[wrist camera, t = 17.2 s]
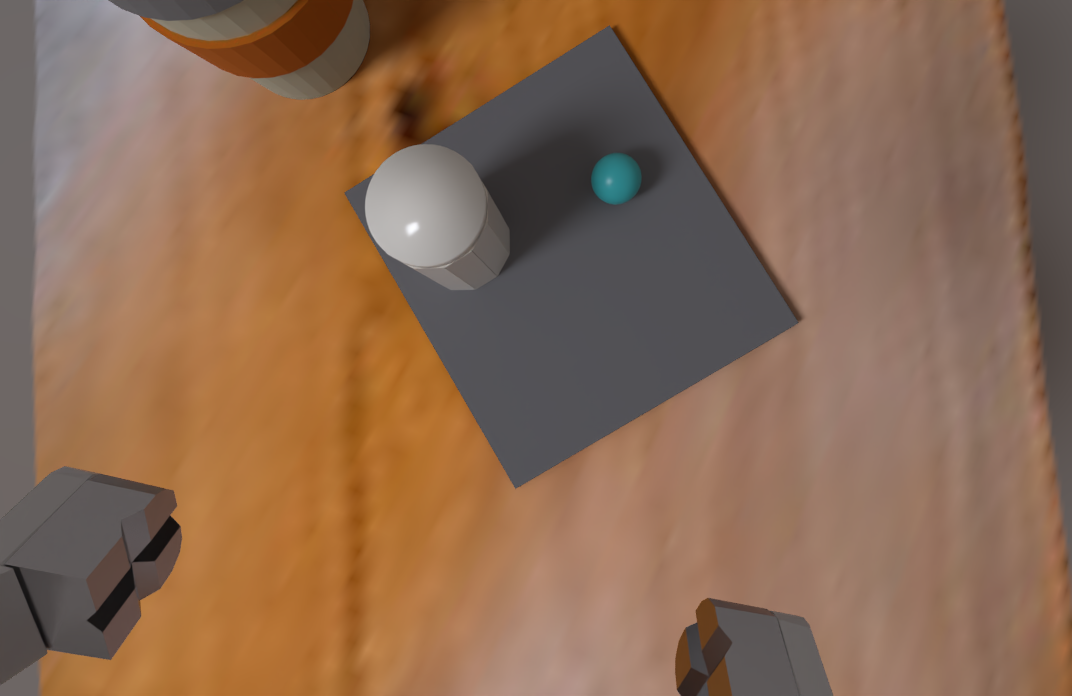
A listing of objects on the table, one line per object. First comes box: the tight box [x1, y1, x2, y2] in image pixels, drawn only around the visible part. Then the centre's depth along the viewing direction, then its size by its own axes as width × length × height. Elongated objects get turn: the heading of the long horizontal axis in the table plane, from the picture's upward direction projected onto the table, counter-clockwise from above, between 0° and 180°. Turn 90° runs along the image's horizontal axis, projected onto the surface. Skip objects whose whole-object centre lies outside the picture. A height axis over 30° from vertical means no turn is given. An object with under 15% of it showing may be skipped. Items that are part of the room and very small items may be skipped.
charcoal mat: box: [345, 25, 798, 489], centre depth 38 cm, size 22×20×1 cm
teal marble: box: [591, 153, 642, 205], centre depth 36 cm, size 3×3×3 cm
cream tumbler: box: [365, 144, 510, 290], centre depth 34 cm, size 6×6×9 cm
